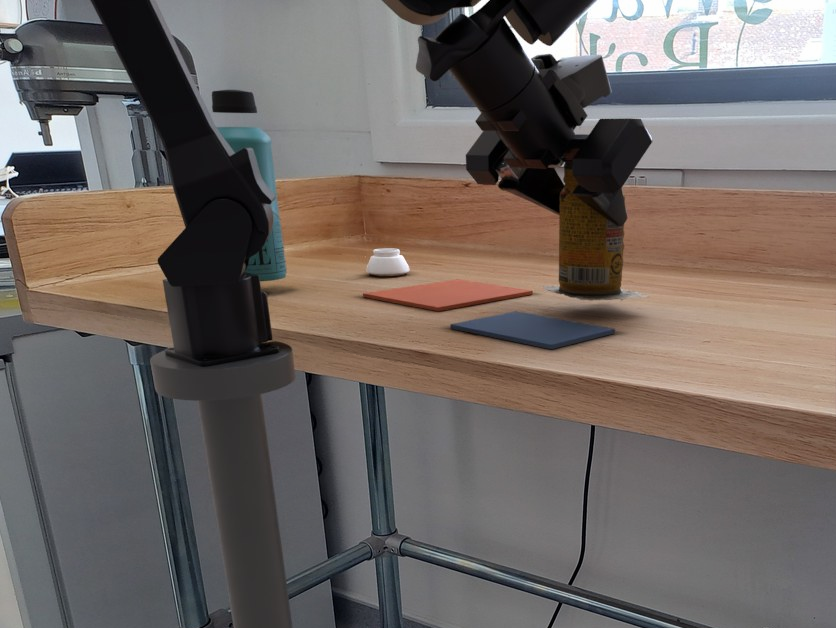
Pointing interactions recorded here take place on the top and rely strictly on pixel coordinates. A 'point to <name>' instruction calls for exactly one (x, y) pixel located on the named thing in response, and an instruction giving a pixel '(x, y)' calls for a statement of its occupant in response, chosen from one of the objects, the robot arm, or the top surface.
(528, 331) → the slate mat
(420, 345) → the top surface
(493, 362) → the top surface
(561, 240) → the condiment
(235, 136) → the beverage bottle
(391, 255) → the white jar
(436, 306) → the terracotta mat
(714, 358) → the top surface
